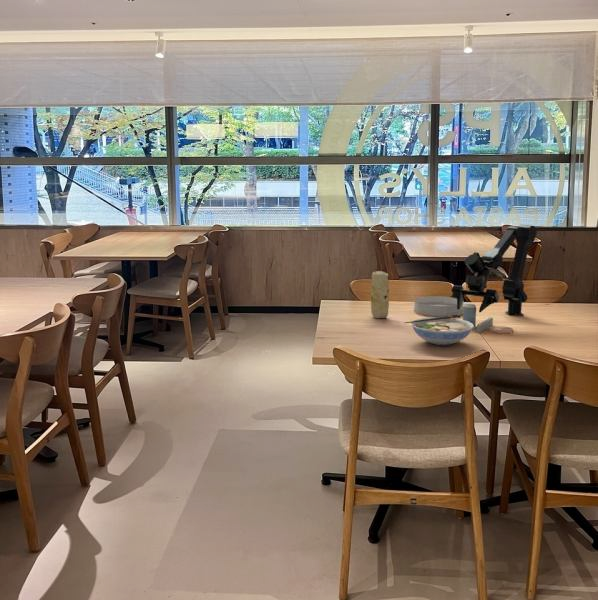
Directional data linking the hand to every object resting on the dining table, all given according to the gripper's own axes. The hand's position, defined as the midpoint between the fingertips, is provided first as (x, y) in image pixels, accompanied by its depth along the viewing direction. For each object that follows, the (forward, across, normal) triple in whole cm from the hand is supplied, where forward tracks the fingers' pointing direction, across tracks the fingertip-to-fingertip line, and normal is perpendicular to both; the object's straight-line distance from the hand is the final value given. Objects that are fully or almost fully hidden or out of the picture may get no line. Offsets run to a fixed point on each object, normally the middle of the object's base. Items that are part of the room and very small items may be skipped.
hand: (468, 310), depth 274 cm
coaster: (+4, +13, +6) cm, 15 cm away
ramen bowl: (+26, +2, -16) cm, 30 cm away
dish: (-10, -23, +21) cm, 32 cm away
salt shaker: (+4, 0, +6) cm, 7 cm away
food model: (+8, -39, +2) cm, 40 cm away
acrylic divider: (+4, +7, +6) cm, 10 cm away
